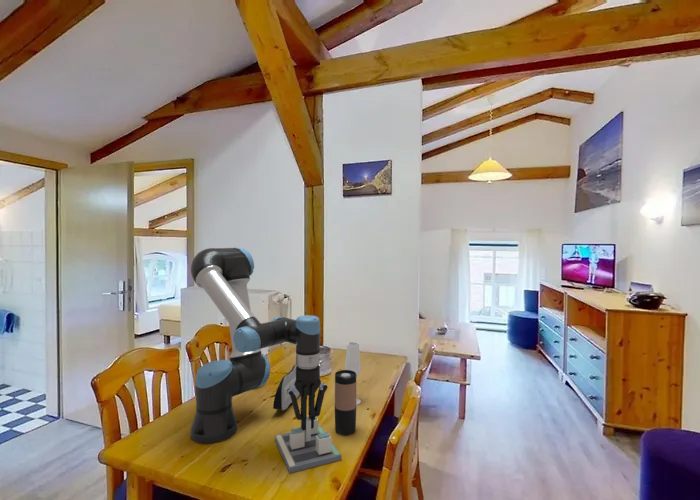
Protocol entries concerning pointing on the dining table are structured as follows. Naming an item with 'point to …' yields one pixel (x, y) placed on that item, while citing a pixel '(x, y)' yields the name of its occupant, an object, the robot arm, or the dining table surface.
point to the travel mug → (345, 402)
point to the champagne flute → (353, 360)
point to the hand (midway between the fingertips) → (307, 438)
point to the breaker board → (305, 453)
